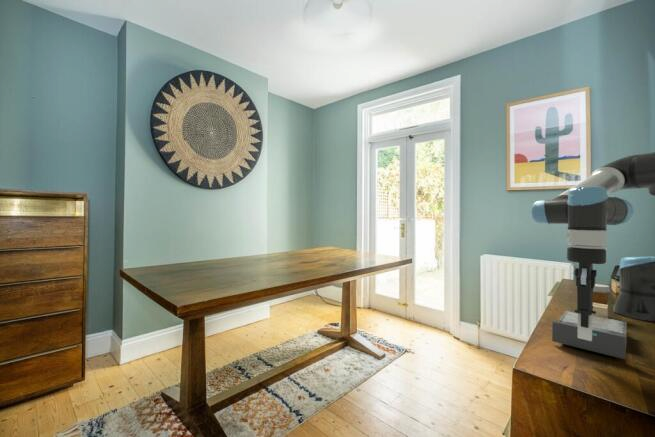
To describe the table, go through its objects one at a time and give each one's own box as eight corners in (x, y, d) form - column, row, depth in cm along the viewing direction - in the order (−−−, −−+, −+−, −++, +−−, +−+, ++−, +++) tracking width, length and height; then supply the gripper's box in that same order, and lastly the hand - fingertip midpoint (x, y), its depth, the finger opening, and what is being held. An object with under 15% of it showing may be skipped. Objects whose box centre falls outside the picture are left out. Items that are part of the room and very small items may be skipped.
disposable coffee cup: (576, 310, 119) (577, 280, 119) (609, 315, 113) (609, 284, 113) (577, 315, 112) (578, 284, 112) (612, 321, 106) (612, 288, 106)
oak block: (585, 320, 106) (585, 301, 106) (607, 325, 102) (608, 305, 102) (583, 324, 102) (583, 304, 102) (607, 329, 97) (607, 308, 98)
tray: (560, 329, 94) (560, 311, 94) (625, 343, 83) (626, 324, 83) (552, 341, 84) (552, 321, 84) (625, 359, 73) (625, 337, 73)
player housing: (565, 323, 103) (565, 310, 103) (626, 335, 92) (626, 321, 92) (558, 333, 92) (558, 320, 92) (626, 349, 82) (626, 333, 82)
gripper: (570, 244, 82) (569, 328, 82) (563, 247, 73) (562, 341, 73) (607, 247, 77) (606, 336, 77) (604, 249, 68) (603, 351, 67)
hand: (584, 338), depth 75 cm, fingers closed
